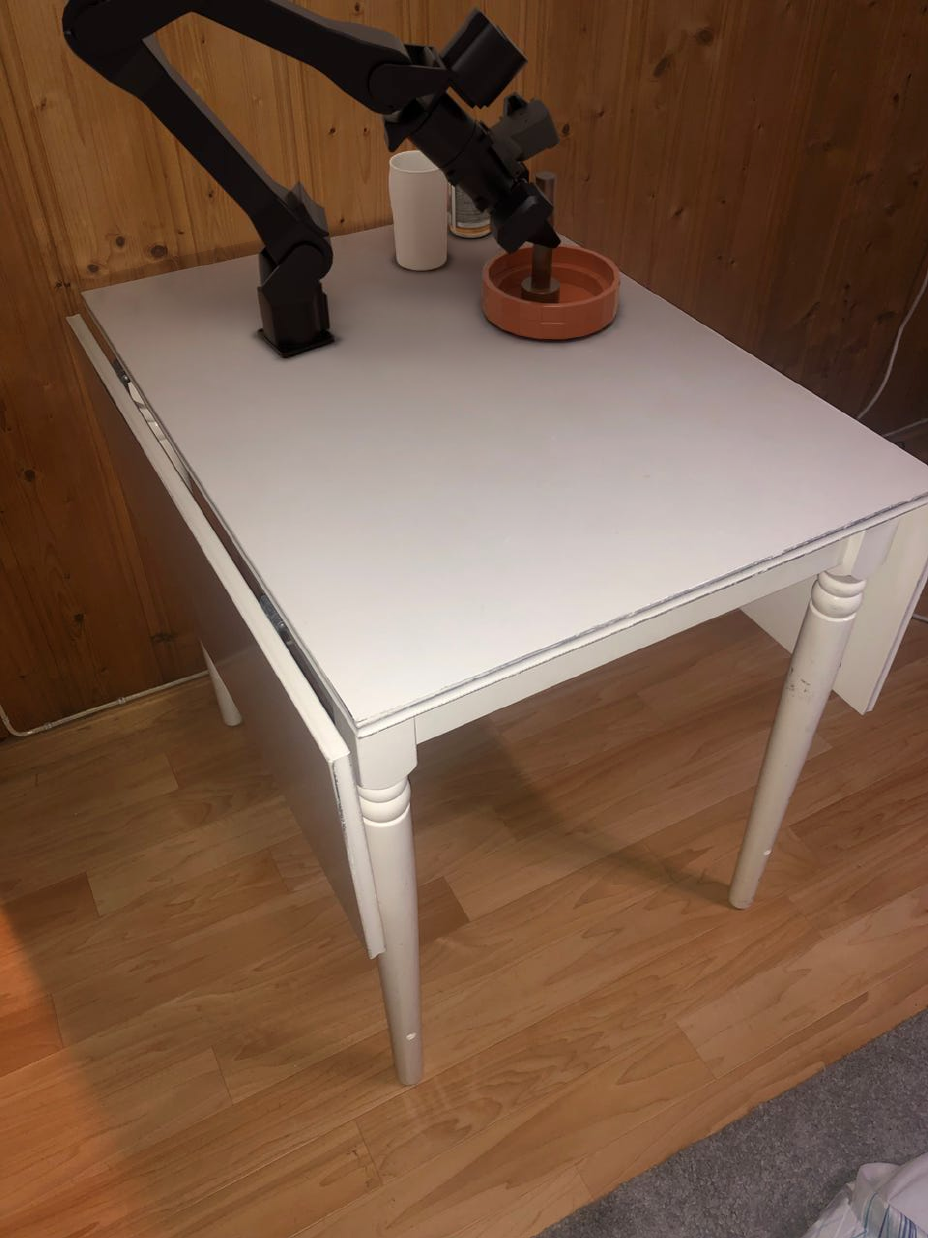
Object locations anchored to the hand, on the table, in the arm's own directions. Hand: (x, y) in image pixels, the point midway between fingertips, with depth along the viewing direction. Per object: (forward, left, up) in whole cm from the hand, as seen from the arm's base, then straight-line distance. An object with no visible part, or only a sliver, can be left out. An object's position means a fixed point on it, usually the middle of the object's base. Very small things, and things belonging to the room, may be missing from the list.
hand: (554, 239), depth 111 cm
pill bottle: (+5, +24, -9) cm, 26 cm away
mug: (-5, +22, -9) cm, 24 cm away
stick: (-1, +1, -7) cm, 7 cm away
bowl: (0, +1, -9) cm, 9 cm away
